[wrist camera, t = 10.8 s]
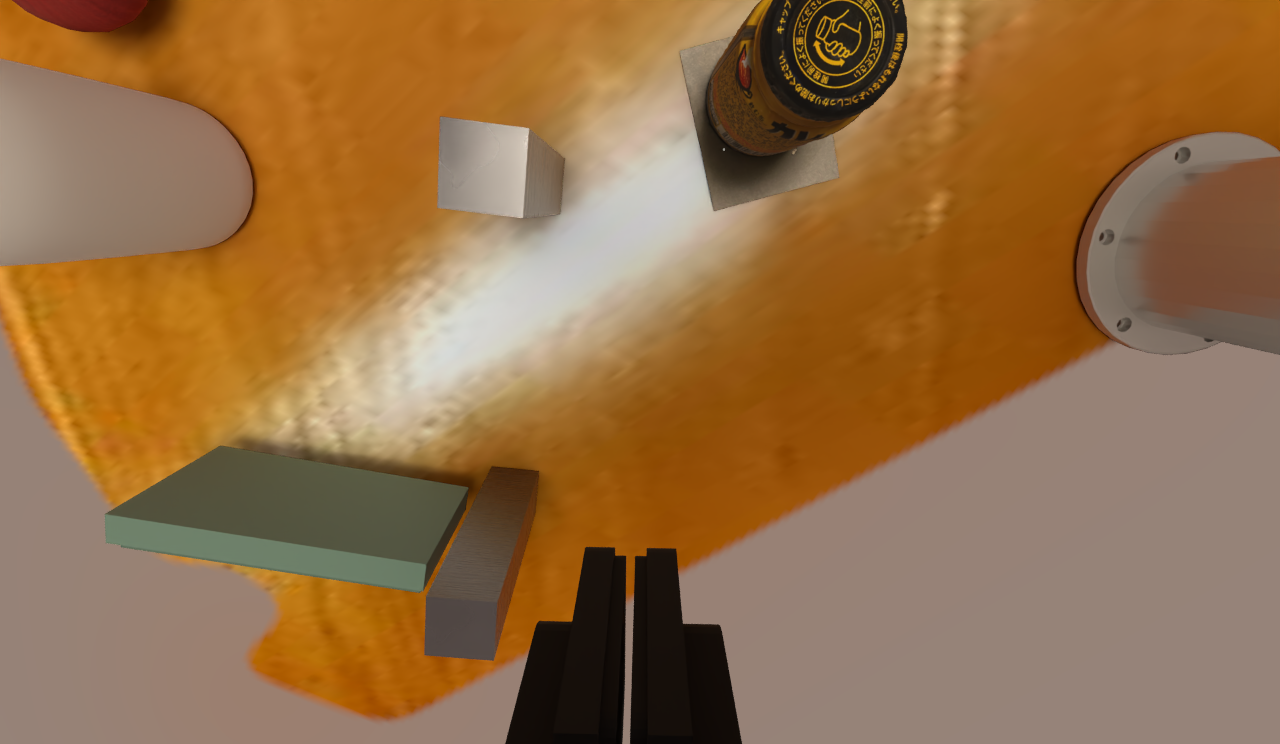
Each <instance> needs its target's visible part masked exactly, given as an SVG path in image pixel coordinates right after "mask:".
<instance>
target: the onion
mask: <svg viewBox="0 0 1280 744" xmlns="http://www.w3.org/2000/svg"><path fill="white" fill-rule="evenodd" d="M13 1H14V2H15V3H17V4H18V5H19V6H20V7H22V8H23V9H24V10H25V11H27V12H29V13H31V14H33V15H35V16H37V17H38V18H40V19H42V20H45V21H48V22H50V23H53V24H56V25H58V26H61V27H64V28H66V29H70V30H76V31H81V32H110V31H112V30H114V29H117V28H119V27H121V26H123V25H125V24H128V23H130V22H132V21H133V20H135V19H136V18H137V16H138V15H139V14H140V13H141V11H142V10H143V9H144V8H145V6H146V5H147V2H148V0H13Z"/></svg>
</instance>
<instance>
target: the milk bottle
mask: <svg viewBox="0 0 1280 744" xmlns="http://www.w3.org/2000/svg"><path fill="white" fill-rule="evenodd" d="M252 197H253V180H252V175H251V171H250V166H249V164H248V162H247V159H246V157H245V154H244V152H243V151H242V149H241V148H240V146H239V144H238V143H237V141H236V140H235V139H234V137H233V136H232V135H231V134H230V133H229V131H228V130H227V129H226V128H225V127H224V126H223V125H222V124H221V123H220V122H218V121H217V120H216V119H215V118H213V117H212V116H211V115H209V114H208V113H206V112H204V111H203V110H201V109H199V108H197V107H194V106H192V105H190V104H186V103H183V102H180V101H176V100H173V99H169V98H166V97H162V96H157V95H153V94H149V93H145V92H141V91H137V90H133V89H129V88H124V87H120V86H116V85H112V84H108V83H103V82H99V81H95V80H91V79H87V78H83V77H78V76H74V75H70V74H65V73H61V72H56V71H52V70H48V69H43V68H39V67H35V66H30V65H26V64H22V63H17V62H13V61H9V60H4V59H0V266H7V265H25V264H44V263H56V262H67V261H79V260H90V259H102V258H112V257H123V256H133V255H143V254H154V253H164V252H174V251H184V250H193V249H199V248H205V247H210V246H213V245H216V244H218V243H220V242H222V241H224V240H226V239H227V238H229V237H230V236H231V235H233V234H234V233H235V232H236V231H237V230H238V228H239V227H240V226H241V224H242V223H243V222H244V220H245V219H246V217H247V214H248V212H249V209H250V207H251V202H252Z"/></svg>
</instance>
